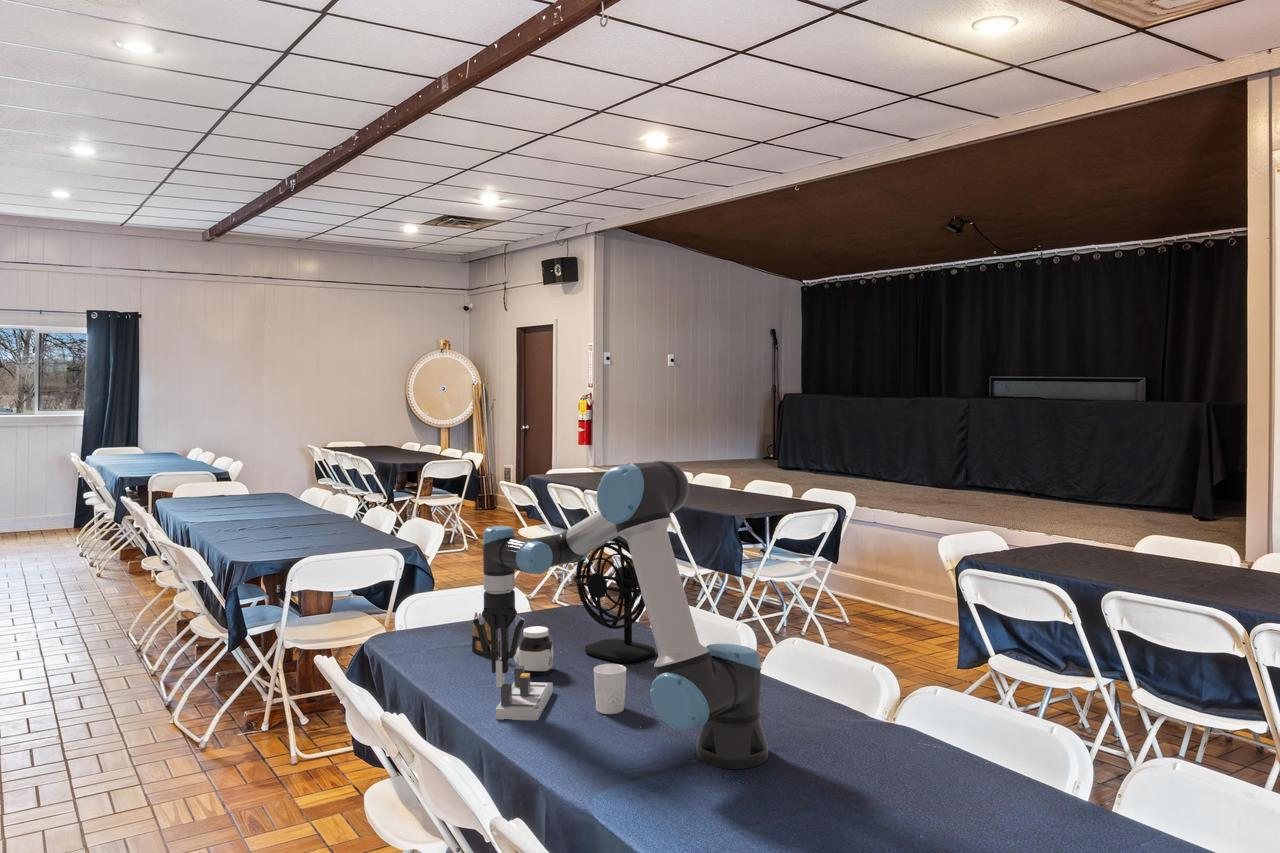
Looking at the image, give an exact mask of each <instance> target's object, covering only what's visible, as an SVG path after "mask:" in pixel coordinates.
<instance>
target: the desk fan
mask: <svg viewBox="0 0 1280 853" xmlns="http://www.w3.org/2000/svg"><path fill="white" fill-rule="evenodd" d="M613 541H614V542H613ZM616 546H617V547H616ZM605 548H608V549H611V550H612V551H614V552H616V553H612V554H610V555H609V556H608V557H603V554H604V550H605ZM623 550H624V551H626V552H627V553H628V554H629V555H630V556H628V555H627V554H625V553H623ZM598 552H599V554H598ZM590 553H591V552H589V554H590ZM596 554H598V557H596ZM614 556H619V558H620V565H621V566H619V567H616V565H615V564H614V563H613V562H612V561H611V560H609V559H611V558H612V557H614ZM586 558H587V557H586ZM586 558H585V559H583V560H580V561H578V562H576V563H577V564H576V569H575V570H576V571H575V575H574V576H573V582H574V583H576V588H577V592H578V596H579V599H580V601H581V604H582V605H583V607H584V608H585V610H586V612H587V613H588V615H589V616H590V617H591V619H593V621H595V622H597V624H599V625H601V626H602V627H604V628H605V627H606V628H608V629H611V630H613V629H614V630H620V629H623V632H624V633H623V636H624V637H623V639H622V638H607V639H606V638H605V639H601V640H598V641H595V642H593V643H590V644H587V645H585V646H584V653H586V654H588V655H590V656H593V657H597V658H601V659H605V660H608V661H612V662H618V663H634V662H639V661H642V660H645V659H648V658H651V657H653V656H654V655H655V654H656V649H655V648H654V647H653V646H652V645H648V644H644V643H641V642H636V641H632V640H633V624H635V622H636V621H637V620H638V619H639V618H640V616H642V613H643V612H644V609H645V608H646V607H645V603H644V600H643V596H642V593H641V589H640V585H639V582H638V578H637V575H636V571H635V567H634V564H633V560H632V557H631V553H630V549H629V546H628V542H627V540H626V541H625V540H624V539H623V538H622V537H619V536H618V537H616V538H615V539H613V540H612V541H610V542H607V543H605V544H604V545H602V546H600V547H598V548H596V549H594V550H593V552H592V554H591V555H590V557H589V559H588V562H586V564H585V565H584V563H585V560H586ZM596 560H597V563H596V565H597V566H596V572H594V573H592V574H591V568H592V564H593V562H594V561H596ZM602 561H603V563H602ZM607 563H608V564H609V565H610V566H611V567H612V569H613V570H614V572H615V573H614V576H609V575H604V569H605V566H606V564H607ZM601 564H602V565H601ZM625 564H626V565H625ZM583 566H584V568H583ZM585 579H586V582H585ZM607 580H609V581H615V585H616V586H617V587H611V586H608V583H607ZM585 587H587V590H588V593H589V595H588V594H587V590H586V588H585ZM609 592H617V593H619V594H618V598H617V600H614V598H612V597H611V596H610V595H609ZM639 595H640V596H639ZM588 596H590V598H591V600H592V601H591V600H590V598H589V597H588ZM605 596H606V597H607V599H608V600H609V601H610V602H612V603H613V604H614V605H613V606H612V607H610V608H607V609H605V608H603V607H602V604H601V598H603V597H605ZM638 597H640V599H639V601H638V603H637V605H636V607H635V609H634V610H633V608H634V606H635V603H636V600H638ZM617 606H618V611H617V613H616V615H614V614H611V613H609V612H610V611H612V610H614V609H615V608H616V607H617ZM592 607H593V608H592ZM594 609H595V610H597V611H598V613H597V612H595V611H594ZM622 611H623V615H621V614H622ZM604 615H605V617H608V618H605V617H604ZM609 618H610V619H609ZM621 620H623V624H620V625H619V624H618V623H619V621H621ZM617 624H618V625H617Z"/></svg>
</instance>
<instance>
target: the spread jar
mask: <svg viewBox="0 0 1280 853" xmlns="http://www.w3.org/2000/svg"><path fill="white" fill-rule="evenodd" d="M522 630H523V633H522V634H523V637H522V638H521V641H520V643H519V645H518V647H517V651H516V654H515V656H514V657H513V659H514V662H515V663H516V664H517V665H519V666H524V673H530V676H531V675H533V676H534V677H537V676H538V675H539V676H543V675H544V676H545V675H547V674H549V672H550V671H551V670H552V667H553V663H554V642H553V639H552V638H551V636H550V635H549V631H550V630H549V628H548V627H547V626H538V625H537V626H529V627H525V628H523V629H522ZM539 676H538V677H539Z"/></svg>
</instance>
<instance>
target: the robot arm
mask: <svg viewBox="0 0 1280 853" xmlns="http://www.w3.org/2000/svg"><path fill="white" fill-rule="evenodd" d="M689 493H690V486H689V481H688V477H687V475H686V473H685V472H684V470H682V468H681V467H679V466H678V465H676V464H674V463H673V462H670V461H667V460H665V461H664V460H655V461H649V462H647V461H646V462H636V463H635V462H633V463H625V464H621V465H618V466H617V465H616V466H614V467H612V468H610V469H608V470H607V471H606V472H605V473H604V474H603V475H602V477H601V479H600V483H599V484H598V487H597V492H596V502H597V503H596V504H597V508H598V511H596V512H595V513H592V514H591V515H590V516H589V515H588V516H587V517H585V518H583V520H581V521H579V522H577V523H576V524H574V525H572V526H571V527H569V528H568V529H565V530H564V531H562V532H561V533H557V534H552V535H546V536H540V537H534V538H527V539H525V538H524V539H523V538H519V537H516V535H515V529H514V528H513V527H511V526H506V525H496V526H495V525H494V526H489V527H486V528H485V529H484V531H483V538H482V559H483V561H482V563H483V567H482V568H483V570H482V571H483V590H484V592H483V610H482V612H481V615H480V616H479V615H478V616H479V617H476V618H475V619H474V618H473V620H472V624H473V626H474V625H475V626H476V628H477V630H478V634H479V638H480V642H481V646H482V650H483V654H484V656H483V657H484V658H486V659H487V658H488V659H489V660H491V673H492V674H495V688H500V689H501V686H502V685H503V684H506V683H505V681H506V680H505V679H506V678H505V674H507V673H508V671H509V660H510V659H514V656H515V654H516V651H517V648H518V647H519V641H520V637H521V635H522V634H521V633H522V630H523V626H524V625H525V623H526V622H527V618H526V617H521V615H519V614H518V611H517V609H516V591H515V590H514V589H515V588H516V585H515V584H516V583H515V580H516V578H515V576H516V575H515V574H516V573H515V572H517V571H518V572H521V573H522V572H523V573H525V574H529V575H542V574H544V573H546V572H547V571H548V570H549V569H550V568H553V567H556V566H560V565H561V566H562V565H566V564H567V565H569V564H576V563H578V561H580V560H583V559H585V558H588V556H589V554H590V553H591V552H592V551H593V552H594V551H595V550H596V549H597V548H598V547H600V546H602V545H604V544H605V543H610V542H612V541H614V540H613V539H615V538H616V537H618V538H619V537H620V538H622V539H623V540H624V539H625V540H626V542H627V543H628V546H629V549H630V553H631V555H630V558H631V559H632V560H633V564H634V565H633V564H632V565H633V566H634V567H635V571H636V575H637V578H638V582H639V585H640V589H641V593H642V596H643V600H644V603H645V607H644V608H645V611H646V613H647V614H646V615H647V617H648V618H647V619H648V621H649V624H650V628H651V631H652V632H651V633H652V636H653V640H654V643H655V646H656V649H657V653H658V654H657V655H658V656H657V659H656V660H655V662H654V665H653V666H654V671H655V674H656V677H655V679H654V680H653V681H652V683H651V688H650V691H649V694H650V696H649V697H650V698H649V699H650V702H651V705H652V708H653V710H654V712H655V714H656V715H657V717H658V718H659V719H660V720H661V721H662V722H663V723H665V724H667V725H668V726H669V727H670V728H672V729H674V730H677V731H689V730H692V729H695V728H700V732H699V734H698V737H697V740H696V756H697V757H698V759H699V760H700V761H702V762H703V763H705V764H708V765H710V766H714V767H717V768H721V769H729V770H730V769H731V770H732V769H734V770H737V769H738V770H739V769H742V770H743V769H750V768H753V767H758V766H760V765H762V764H764V763H765V762H766V761H767V760H768V758H769V742H768V741H767V737H766V734H765V730H764V728H763V724H762V722H761V671H762V667H761V656H760V654H759V652H758V651H757V650H756V649H754V648H752V647H748V646H744V645H740V644H735V643H734V644H733V643H711V644H708V645H707V646H704V645H702V644H701V643H700V641H699V637H698V633H697V630H696V626H695V623H694V620H693V616H692V612H691V609H690V606H689V602H688V599H687V594H686V591H685V588H684V583H683V580H682V578H681V574H680V570H679V567H678V563H677V560H676V556H675V553H674V550H673V546H672V543H671V540H670V535H669V532H668V527H669V525H670V524H671V522H672V516H671V514H672V513H674V512H677V511H679V510H680V509H681V508H682V507H683V506H684V504H685V503H686V502H687V499H688V496H689ZM589 552H590V553H589ZM585 560H586V559H585ZM641 593H640V594H641ZM484 619H485V621H486V622H487V623H488V625H489V626H490V632H491V649H490V645H489V641H488V637H487V633H486V629H485V626H484ZM514 620H515V622H514ZM513 622H514V624H515V628H514V632H513V635H512V636H513V637H512V639H511V640H512V641H511V645H510V646H509V642H510V641H509V639H510V638H509V631H510V625H511V624H512V623H513ZM499 629H500V634H501V640H500V647H501V657H500V658H498V656H499V655H498V632H499Z"/></svg>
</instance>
